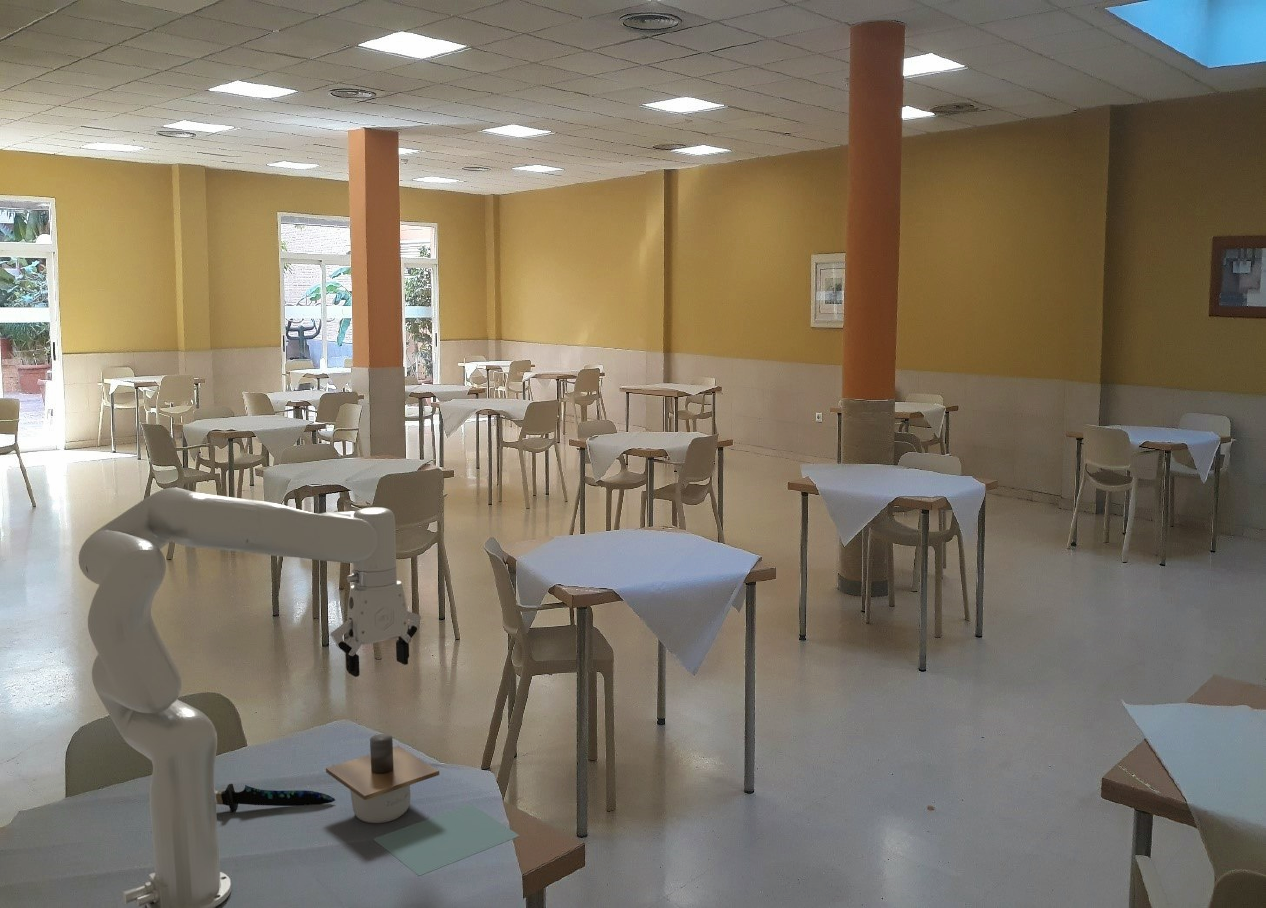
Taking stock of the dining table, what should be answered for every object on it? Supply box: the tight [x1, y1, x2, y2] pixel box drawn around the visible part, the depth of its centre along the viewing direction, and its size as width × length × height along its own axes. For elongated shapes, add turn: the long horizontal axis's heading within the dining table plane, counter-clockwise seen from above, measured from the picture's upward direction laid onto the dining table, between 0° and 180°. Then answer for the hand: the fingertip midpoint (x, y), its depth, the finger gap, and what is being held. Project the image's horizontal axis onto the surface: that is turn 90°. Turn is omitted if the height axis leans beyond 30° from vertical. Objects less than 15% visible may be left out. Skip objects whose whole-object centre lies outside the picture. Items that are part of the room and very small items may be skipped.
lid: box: [325, 733, 440, 800], centre depth 197 cm, size 15×15×7 cm
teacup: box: [349, 785, 411, 824], centre depth 198 cm, size 14×11×8 cm
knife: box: [215, 783, 336, 814], centre depth 200 cm, size 31×3×4 cm, turn 94°
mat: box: [372, 803, 521, 877], centre depth 188 cm, size 20×16×1 cm
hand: (378, 668), depth 195 cm, fingers open, 9 cm apart
